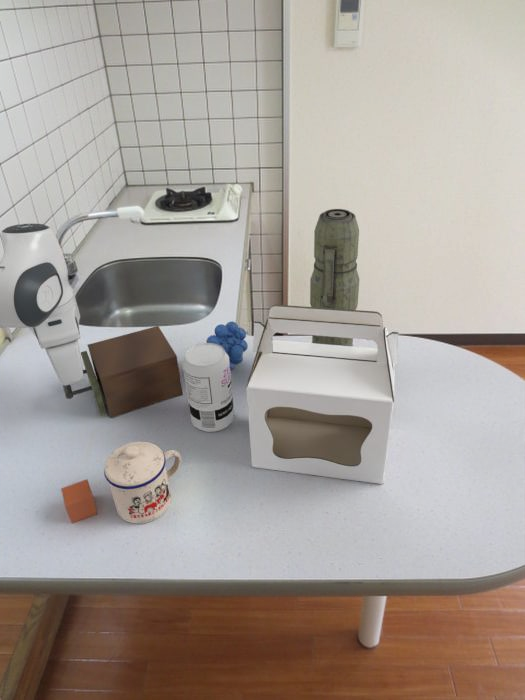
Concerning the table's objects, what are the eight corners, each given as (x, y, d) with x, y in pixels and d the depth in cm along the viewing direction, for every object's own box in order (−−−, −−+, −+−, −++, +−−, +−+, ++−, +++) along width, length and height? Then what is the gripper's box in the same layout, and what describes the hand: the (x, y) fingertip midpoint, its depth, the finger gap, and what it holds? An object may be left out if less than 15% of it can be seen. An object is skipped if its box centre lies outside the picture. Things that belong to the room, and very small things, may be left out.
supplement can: (187, 410, 101) (177, 346, 93) (228, 401, 103) (222, 337, 95) (195, 438, 95) (185, 372, 86) (239, 428, 97) (234, 361, 88)
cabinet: (110, 418, 101) (100, 378, 95) (97, 382, 110) (87, 344, 105) (183, 394, 106) (176, 355, 100) (164, 362, 115) (158, 325, 110)
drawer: (73, 423, 98) (63, 391, 94) (64, 390, 107) (54, 359, 102) (168, 394, 104) (162, 362, 100) (152, 364, 113) (146, 334, 109)
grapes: (224, 392, 106) (219, 342, 99) (201, 379, 109) (194, 331, 103) (262, 364, 113) (259, 316, 106) (238, 354, 117) (235, 307, 110)
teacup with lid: (132, 536, 78) (116, 483, 72) (105, 500, 84) (89, 447, 78) (199, 494, 84) (190, 442, 78) (170, 463, 90) (159, 411, 84)
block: (71, 523, 81) (65, 506, 78) (67, 505, 84) (61, 488, 81) (97, 513, 82) (92, 496, 80) (93, 495, 85) (87, 478, 83)
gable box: (250, 467, 89) (239, 326, 73) (266, 416, 99) (259, 283, 83) (384, 485, 84) (404, 339, 68) (386, 429, 95) (403, 292, 79)
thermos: (355, 364, 112) (366, 202, 92) (349, 399, 102) (361, 227, 83) (313, 360, 114) (316, 200, 94) (304, 394, 104) (305, 225, 84)
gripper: (27, 292, 98) (47, 353, 106) (39, 346, 83) (62, 412, 91) (62, 285, 101) (79, 345, 108) (80, 335, 85) (98, 401, 93)
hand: (71, 376), depth 99 cm, fingers closed
